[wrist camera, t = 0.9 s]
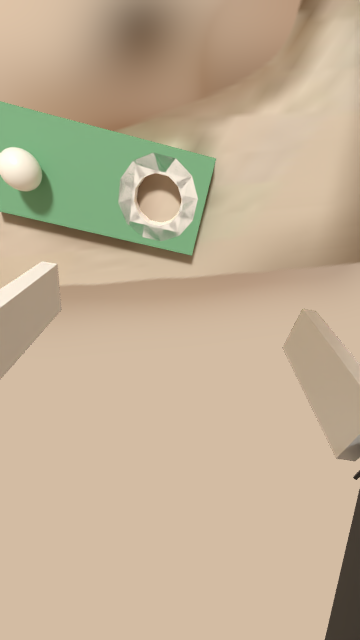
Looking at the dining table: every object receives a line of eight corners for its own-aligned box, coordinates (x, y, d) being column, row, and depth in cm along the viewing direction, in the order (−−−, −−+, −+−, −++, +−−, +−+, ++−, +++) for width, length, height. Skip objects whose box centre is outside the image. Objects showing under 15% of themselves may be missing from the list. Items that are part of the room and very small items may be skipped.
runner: (-19, 97, 29) (-32, 93, 27) (214, 158, 31) (216, 158, 30) (-1, 206, 35) (-11, 209, 34) (191, 251, 38) (191, 255, 36)
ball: (9, 143, 30) (-17, 141, 26) (47, 153, 30) (27, 152, 26) (14, 184, 32) (-9, 188, 28) (49, 193, 32) (31, 197, 29)
